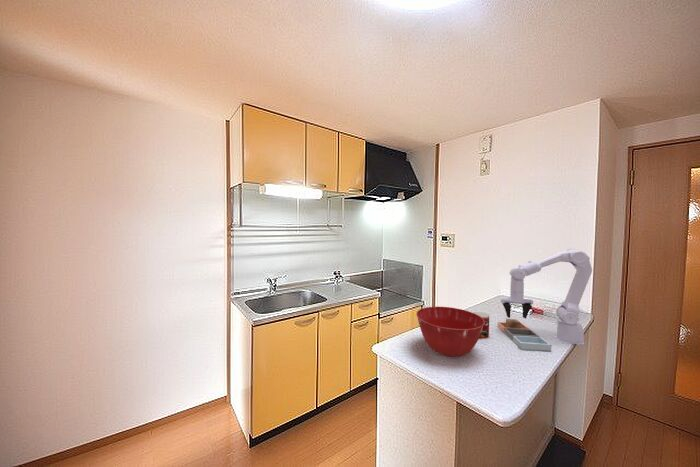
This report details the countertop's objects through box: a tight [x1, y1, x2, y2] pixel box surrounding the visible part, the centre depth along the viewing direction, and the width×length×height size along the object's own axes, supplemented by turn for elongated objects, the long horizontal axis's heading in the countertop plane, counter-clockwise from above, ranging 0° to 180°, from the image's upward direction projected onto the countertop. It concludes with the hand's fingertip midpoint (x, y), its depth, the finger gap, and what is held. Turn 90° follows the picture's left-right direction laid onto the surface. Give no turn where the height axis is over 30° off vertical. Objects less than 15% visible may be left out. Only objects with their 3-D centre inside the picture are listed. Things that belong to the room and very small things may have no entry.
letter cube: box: [505, 318, 522, 328], centre depth 139 cm, size 5×5×5 cm
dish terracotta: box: [497, 321, 531, 334], centre depth 139 cm, size 12×8×3 cm
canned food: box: [473, 311, 490, 340], centre depth 133 cm, size 8×8×11 cm
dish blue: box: [512, 336, 552, 352], centre depth 122 cm, size 12×8×3 cm
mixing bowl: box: [416, 306, 485, 358], centre depth 118 cm, size 28×28×15 cm
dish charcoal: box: [504, 328, 541, 341], centre depth 131 cm, size 12×8×3 cm
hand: (516, 317), depth 136 cm, fingers open, 7 cm apart
